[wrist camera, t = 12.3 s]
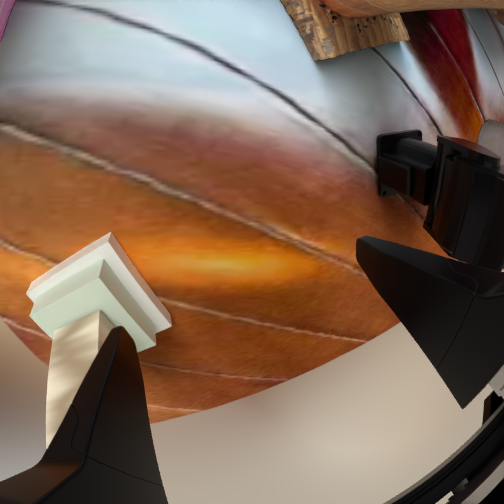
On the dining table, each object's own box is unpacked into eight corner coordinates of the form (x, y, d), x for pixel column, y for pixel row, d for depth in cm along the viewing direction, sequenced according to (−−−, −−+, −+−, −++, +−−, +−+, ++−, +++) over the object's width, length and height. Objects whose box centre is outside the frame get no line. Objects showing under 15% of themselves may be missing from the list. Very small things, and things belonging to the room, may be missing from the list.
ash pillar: (99, 309, 18) (108, 473, 8) (134, 346, 21) (160, 484, 12) (54, 330, 17) (49, 477, 8) (90, 363, 20) (102, 491, 11)
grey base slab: (112, 227, 20) (108, 241, 18) (169, 308, 26) (172, 326, 24) (34, 277, 20) (26, 293, 18) (94, 343, 25) (93, 360, 23)
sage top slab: (103, 258, 19) (98, 277, 17) (154, 324, 23) (156, 345, 21) (37, 296, 18) (29, 315, 16) (90, 351, 23) (88, 371, 21)
